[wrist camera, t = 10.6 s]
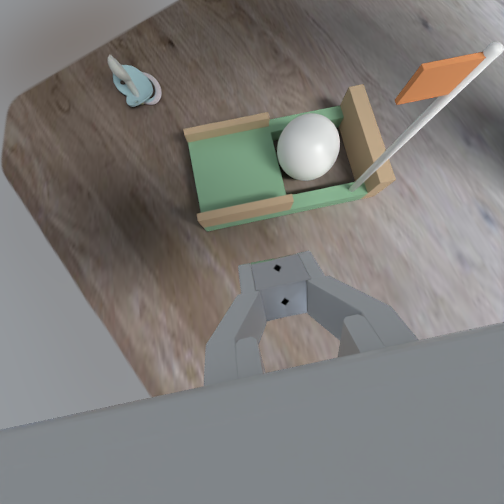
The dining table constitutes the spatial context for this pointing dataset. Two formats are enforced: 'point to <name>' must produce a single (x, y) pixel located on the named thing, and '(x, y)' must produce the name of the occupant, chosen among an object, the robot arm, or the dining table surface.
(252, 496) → the robot arm
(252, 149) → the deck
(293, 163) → the ball
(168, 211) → the dining table surface
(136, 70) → the pacifier
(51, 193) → the dining table surface
